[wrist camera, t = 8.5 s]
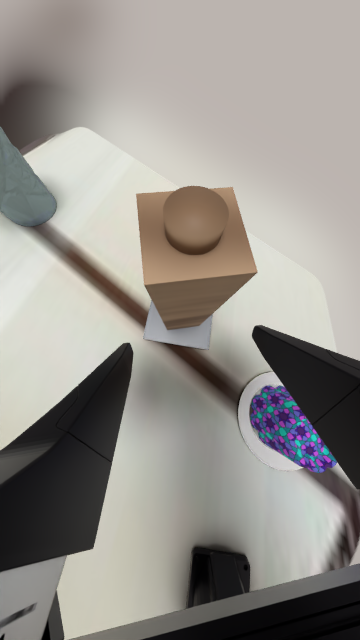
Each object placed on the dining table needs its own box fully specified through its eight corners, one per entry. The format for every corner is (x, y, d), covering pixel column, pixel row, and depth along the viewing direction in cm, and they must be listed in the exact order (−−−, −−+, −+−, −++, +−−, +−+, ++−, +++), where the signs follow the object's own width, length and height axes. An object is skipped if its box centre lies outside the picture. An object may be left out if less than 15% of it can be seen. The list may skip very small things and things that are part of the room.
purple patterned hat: (292, 359, 20) (332, 364, 15) (334, 444, 18) (398, 484, 13) (222, 387, 19) (240, 402, 14) (258, 481, 17) (294, 541, 11)
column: (199, 325, 18) (272, 258, 4) (167, 330, 18) (137, 272, 4) (194, 296, 19) (241, 163, 5) (163, 299, 18) (129, 169, 5)
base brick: (204, 349, 20) (208, 349, 17) (147, 339, 20) (142, 338, 17) (210, 295, 21) (215, 288, 19) (158, 286, 22) (156, 279, 19)
